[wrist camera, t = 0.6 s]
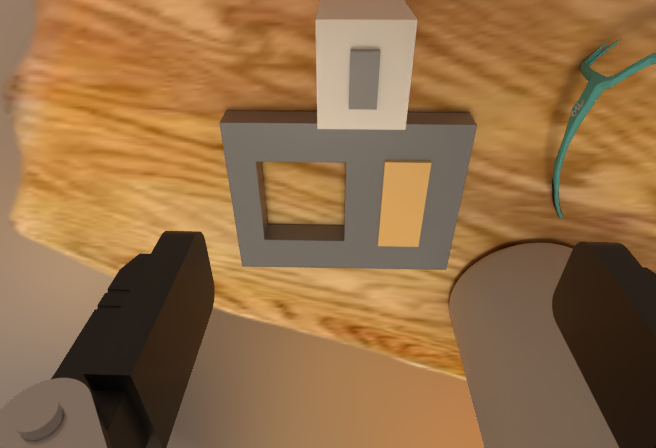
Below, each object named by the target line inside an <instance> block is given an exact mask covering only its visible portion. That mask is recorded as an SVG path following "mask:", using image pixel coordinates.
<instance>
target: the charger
mask: <svg viewBox="0 0 656 448" xmlns="http://www.w3.org/2000/svg"><path fill="white" fill-rule="evenodd" d="M315 20H316V77H317V129H368V130H406V120H407V111H408V102H409V93H410V84H411V75H412V66H413V57H414V48H415V39H416V30H417V21H418V20H417V18H416V17H415V15H414V14H413V12H412V11H411V9H410V8H409V6H408V5H407V3H406V2H405V0H320V3H319V7H318V11H317V15H316V19H315Z"/></svg>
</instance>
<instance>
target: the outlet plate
mask: <svg viewBox="0 0 656 448" xmlns="http://www.w3.org/2000/svg"><path fill="white" fill-rule="evenodd" d="M476 127H477V124H476V123H475V121H474V119H473V118H472V116H471V115H470V113H455V112H407V120H406V130H368V129H317V111H226V112H225V114H224V116H223V118H222V119H221V121H220V129H221V135H222V141H223V148H224V154H225V160H226V167H227V173H228V179H229V186H230V192H231V198H232V204H233V211H234V217H235V223H236V230H237V236H238V242H239V249H240V255H241V261H242V266H249V267H310V268H371V269H431V270H446V268H447V263H448V259H449V254H450V249H451V245H452V240H453V235H454V231H455V226H456V221H457V216H458V212H459V207H460V202H461V198H462V193H463V188H464V184H465V179H466V174H467V170H468V165H469V160H470V155H471V151H472V146H473V141H474V137H475V132H476ZM262 162H342V163H346V176H345V217H344V225H289V224H268V217H267V208H266V198H265V188H264V179H263V169H262Z"/></svg>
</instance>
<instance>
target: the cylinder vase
mask: <svg viewBox="0 0 656 448" xmlns="http://www.w3.org/2000/svg"><path fill="white" fill-rule="evenodd" d="M572 250H573V249H572V248H569V247H566V246H563V245H559V244H553V243H526V244H520V245H515V246H511V247H507V248H504V249H501V250H498V251H496V252H494V253H492V254H490V255H488V256H486V257H484V258H482V259H481V260H479V261H478V262H476V263H475V264H474V265H472V266H471V267H470V268H469V269H468V270H467V271H466V272H465V273H464V274H463V275H462V276H461V277H460V278H459V280H458V281H457V283H456V284H455V286H454V288H453V290H452V293H451V296H450V301H449V313H450V318H451V322H452V326H453V329H454V333H455V337H456V341H457V345H458V348H459V352H460V356H461V360H462V364H463V367H464V371H465V375H466V379H467V383H468V386H469V390H470V394H471V398H472V402H473V405H474V409H475V413H476V417H477V421H478V424H479V428H480V432H481V436H482V439H483V443H484V447H485V448H619V446H618V444H617V442H616V440H615V438H614V436H613V434H612V432H611V430H610V428H609V426H608V424H607V422H606V421H605V419H604V417H603V415H602V413H601V411H600V409H599V407H598V405H597V403H596V401H595V399H594V397H593V395H592V393H591V391H590V389H589V387H588V385H587V383H586V381H585V379H584V377H583V375H582V373H581V371H580V369H579V367H578V365H577V363H576V361H575V359H574V357H573V355H572V353H571V351H570V349H569V347H568V345H567V343H566V342H565V340H564V338H563V336H562V334H561V332H560V330H559V328H558V326H557V324H556V322H555V319H554V316H553V311H552V298H553V294H554V291H555V289H556V286H557V284H558V282H559V280H560V277H561V275H562V273H563V270H564V268H565V266H566V264H567V261H568V259H569V257H570V254H571V252H572Z"/></svg>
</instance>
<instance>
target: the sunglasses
mask: <svg viewBox="0 0 656 448" xmlns="http://www.w3.org/2000/svg"><path fill="white" fill-rule="evenodd" d="M619 41H620V40H618V41H616V42H615V43H613V44H611V45H610V46H608V47H607V48H606V49H604V50H601V49H602V48H603V47H604V46H606V45H607V44H608V43H606V44H605V45H603V46H601V47H600V48H599V49H597V50H596V51H595V52H594V53H592V54H591V55H590V56H589V57H588V58H587V59H586V60H584V61H583V63H582V64H581V67H580V69H581V72H582V74H583V76H584V77H585V78H586V79H587V80H588V81H589V82H588V84H587V86H586V88H585V90H584V91H583V93H582V95H581V97H580V98H579V100H578V101H577V103H576V104H575V106H574V107H573V108H572V111H571V115H570V118H569V121H568V125H567V128H566V132H565V135H564V138H563V140H562V143H561V146H560V149H559V152H558V155H557V157H556V160H555V163H554V171H553V179H552V196H553V202H554V206H555V209H556V211H557V213H558V216H559V218H560V219H561V218H562V217H563V216H562V212H561V209H560V205H559V180H560V170H561V166H562V163H563V160H564V157H565V153H566V151H567V148H568V146H569V143H570V142H571V140H572V138H573V136H574V134H575V132H576V131H577V129H578V127H579V125H580V123H581V122H582V120H583V119H584V117H585V116H586V114H587V113H588V111H589V110H590V109H591V107H592V106H593V105H594V103H595V100H597V99H598V97H599V96H600V95H601V93H602V92H603V90H604V89H608V88H611V87H612V86H614V85H616V84H617V83H619V82H620V81H622V80H624V79H625V78H627V77H628V76H630V75H632V74H634V73H636V72H637V71H639V70H641V69H643V68H645V67H647V66H649V65H651V64H656V53H653V54H650V55H649V56H647V57H645V58H643V59H641V60H639V61H637V62H636V63H634V64H632V65H631V66H629V67H627V68H626V69H624V70H622V71H620V72H619V73H617V74H615V75H614V76H610V77H605V76H603V75H601V74H599V73H597V72H595V71H593V70H592V69H591V68H590V67H589V66H590V65H591V64H592V63H593V62H594V61H595V60H596V59H597V58H598V57H599V56H601V55H602V54H603V53H605V52H606V51H607V50H609V49H610V48H611V47H613V46H614V45H616V44H617V43H618V42H619ZM599 50H601V51H599ZM600 53H601V54H600ZM590 58H591V59H590Z"/></svg>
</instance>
